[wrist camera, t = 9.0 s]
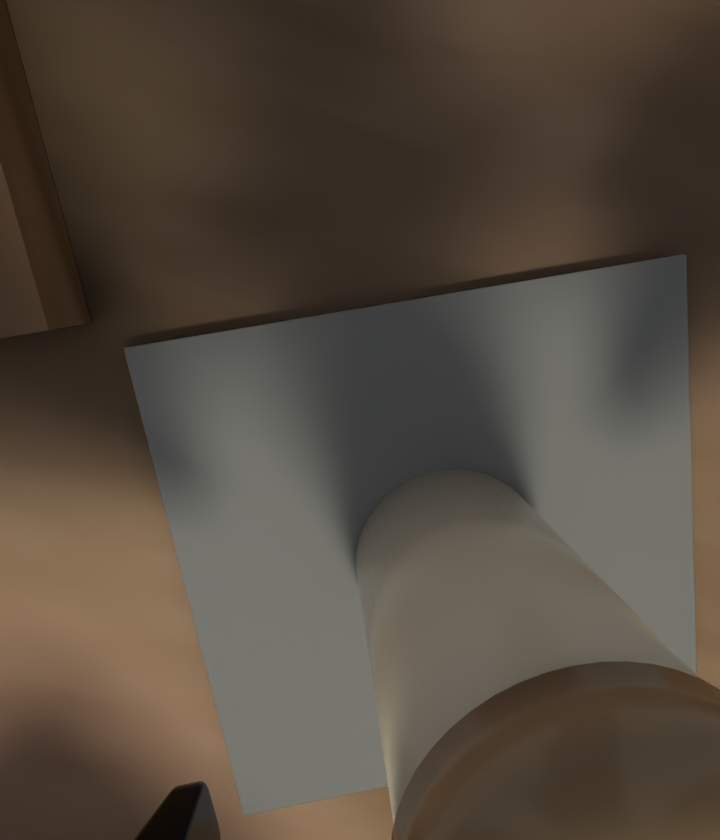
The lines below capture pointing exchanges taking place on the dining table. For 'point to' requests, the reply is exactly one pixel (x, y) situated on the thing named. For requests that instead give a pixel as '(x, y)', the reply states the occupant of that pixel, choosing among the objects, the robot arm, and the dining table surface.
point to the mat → (399, 462)
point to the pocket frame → (30, 215)
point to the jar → (523, 680)
